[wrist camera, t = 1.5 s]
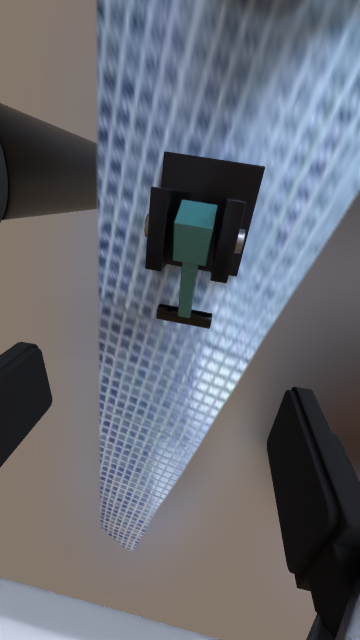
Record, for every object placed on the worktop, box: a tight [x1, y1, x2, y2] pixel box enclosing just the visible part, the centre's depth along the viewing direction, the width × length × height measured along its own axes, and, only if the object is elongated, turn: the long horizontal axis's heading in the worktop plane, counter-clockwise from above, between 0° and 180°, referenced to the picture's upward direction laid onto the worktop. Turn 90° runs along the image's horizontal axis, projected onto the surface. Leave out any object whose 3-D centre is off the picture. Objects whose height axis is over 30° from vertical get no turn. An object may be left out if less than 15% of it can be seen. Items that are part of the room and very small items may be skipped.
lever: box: [156, 200, 218, 329], centre depth 18 cm, size 11×5×2 cm, turn 174°
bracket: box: [144, 152, 265, 283], centre depth 19 cm, size 10×9×13 cm
